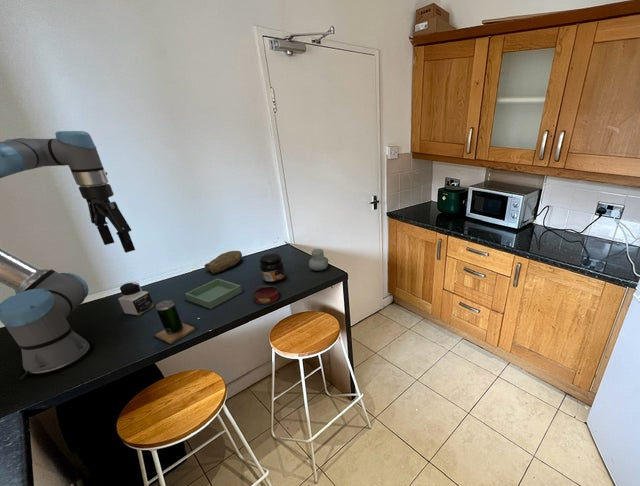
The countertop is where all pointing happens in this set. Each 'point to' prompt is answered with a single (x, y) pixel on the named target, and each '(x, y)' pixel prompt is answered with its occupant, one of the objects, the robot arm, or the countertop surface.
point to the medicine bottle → (134, 299)
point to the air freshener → (318, 260)
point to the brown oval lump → (224, 261)
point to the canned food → (266, 294)
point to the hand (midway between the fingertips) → (119, 247)
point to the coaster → (173, 338)
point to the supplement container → (272, 268)
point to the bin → (213, 293)
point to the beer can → (169, 317)
